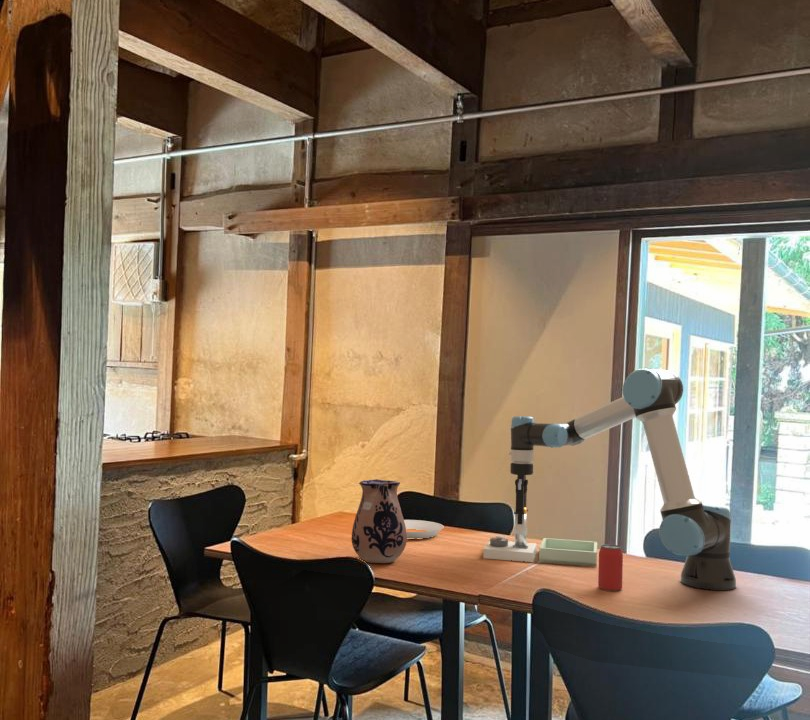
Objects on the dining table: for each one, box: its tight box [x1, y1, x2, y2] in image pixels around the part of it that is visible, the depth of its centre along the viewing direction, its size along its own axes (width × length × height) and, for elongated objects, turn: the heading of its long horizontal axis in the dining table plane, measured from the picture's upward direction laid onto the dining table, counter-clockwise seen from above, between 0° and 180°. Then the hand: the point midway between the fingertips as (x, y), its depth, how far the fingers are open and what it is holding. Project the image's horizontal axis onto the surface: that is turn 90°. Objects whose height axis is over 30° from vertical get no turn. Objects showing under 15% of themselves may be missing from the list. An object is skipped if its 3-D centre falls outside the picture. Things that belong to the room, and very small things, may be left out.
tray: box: [538, 537, 598, 567], centre depth 262 cm, size 18×18×4 cm
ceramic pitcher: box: [351, 478, 408, 564], centre depth 253 cm, size 18×21×25 cm
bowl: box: [404, 519, 444, 539], centre depth 296 cm, size 25×25×4 cm
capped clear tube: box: [514, 506, 528, 548], centre depth 264 cm, size 4×4×13 cm
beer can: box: [597, 543, 624, 592], centre depth 224 cm, size 7×7×12 cm
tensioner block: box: [482, 535, 538, 563], centre depth 265 cm, size 16×16×6 cm
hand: (520, 532), depth 264 cm, fingers closed on capped clear tube, 4 cm apart
